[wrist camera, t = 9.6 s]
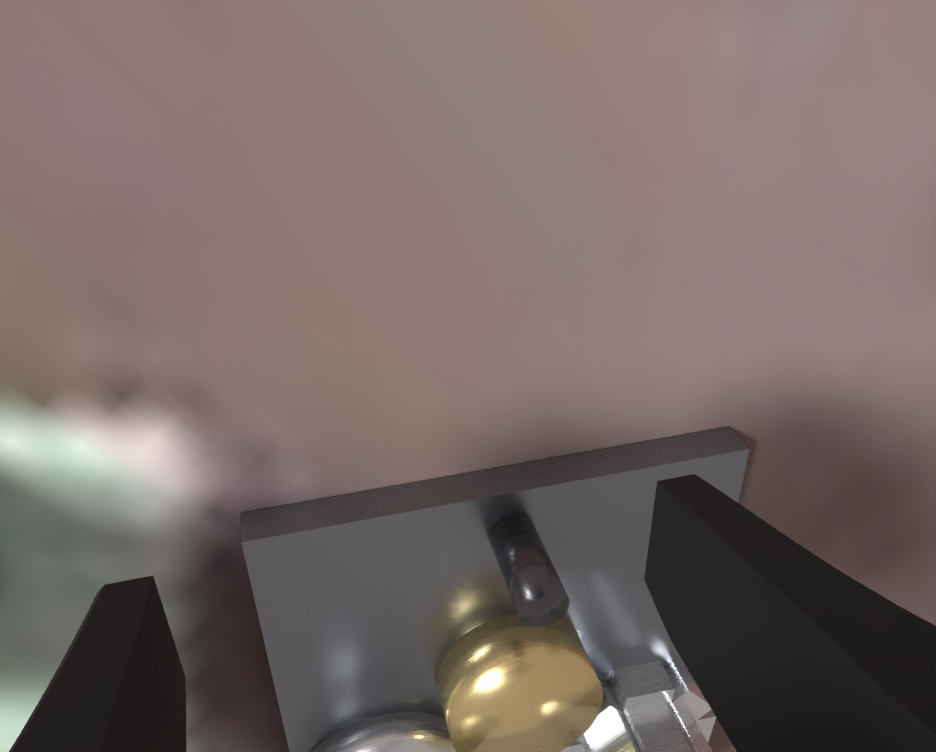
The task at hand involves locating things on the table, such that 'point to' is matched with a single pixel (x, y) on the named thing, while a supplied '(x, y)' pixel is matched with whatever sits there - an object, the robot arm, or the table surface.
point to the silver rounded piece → (392, 735)
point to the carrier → (472, 593)
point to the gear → (649, 713)
